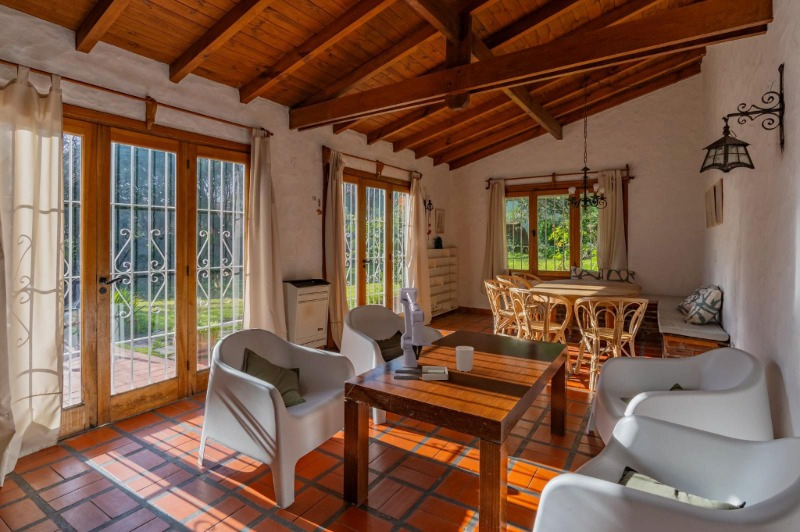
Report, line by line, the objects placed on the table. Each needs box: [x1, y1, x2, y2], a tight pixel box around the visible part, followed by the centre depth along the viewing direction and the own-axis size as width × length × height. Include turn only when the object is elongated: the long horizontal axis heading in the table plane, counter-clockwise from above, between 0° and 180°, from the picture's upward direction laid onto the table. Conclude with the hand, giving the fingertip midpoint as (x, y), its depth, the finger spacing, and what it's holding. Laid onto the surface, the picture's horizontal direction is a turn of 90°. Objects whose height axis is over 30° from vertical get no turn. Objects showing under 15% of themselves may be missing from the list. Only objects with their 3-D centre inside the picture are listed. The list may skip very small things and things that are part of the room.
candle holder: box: [455, 345, 475, 373], centre depth 234 cm, size 10×10×12 cm
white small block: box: [427, 370, 436, 374], centre depth 223 cm, size 4×4×3 cm
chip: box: [436, 370, 445, 374], centre depth 223 cm, size 4×4×3 cm
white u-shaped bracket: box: [421, 365, 449, 381], centre depth 223 cm, size 14×13×3 cm
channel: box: [393, 369, 421, 380], centre depth 224 cm, size 12×13×1 cm
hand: (417, 359), depth 223 cm, fingers closed
